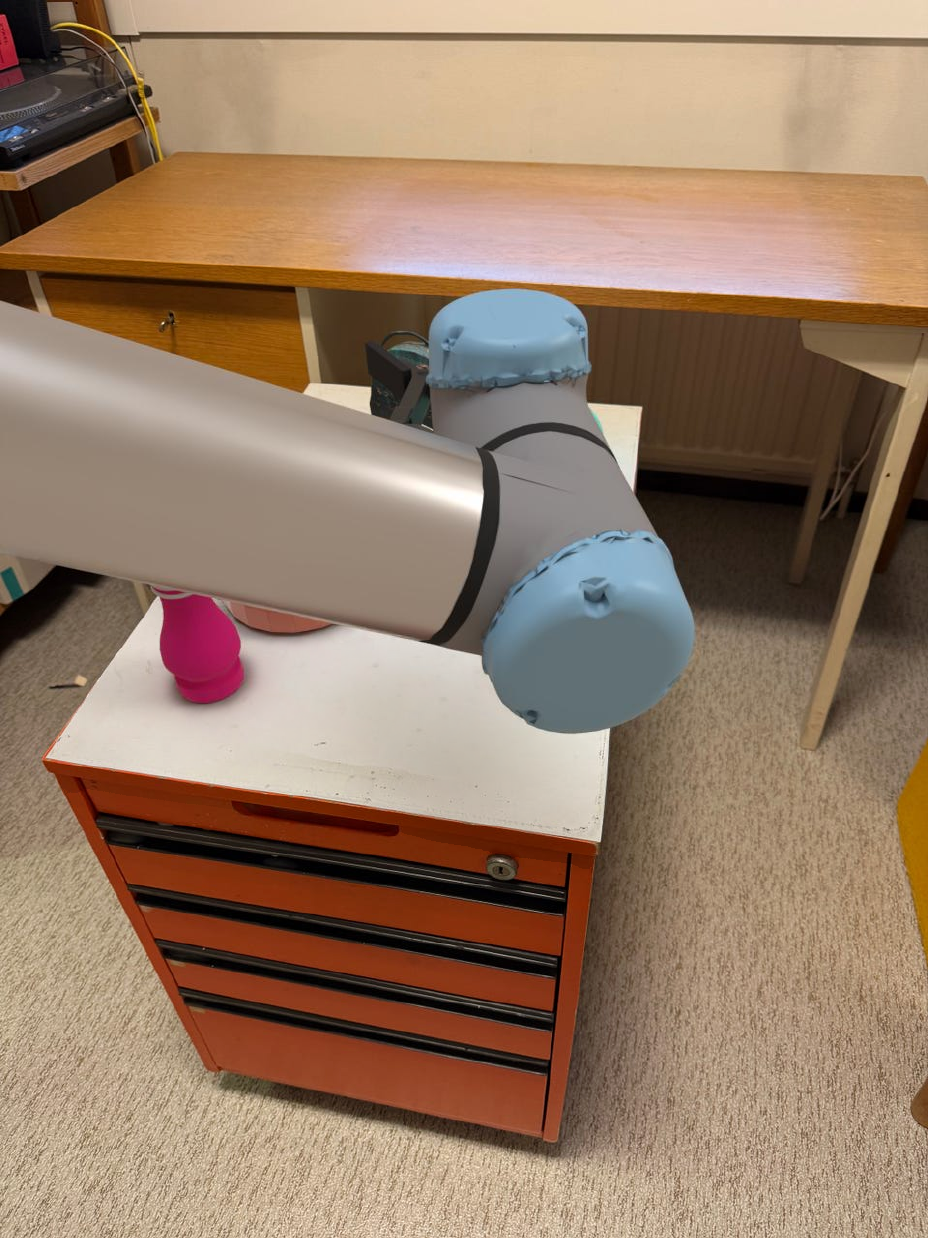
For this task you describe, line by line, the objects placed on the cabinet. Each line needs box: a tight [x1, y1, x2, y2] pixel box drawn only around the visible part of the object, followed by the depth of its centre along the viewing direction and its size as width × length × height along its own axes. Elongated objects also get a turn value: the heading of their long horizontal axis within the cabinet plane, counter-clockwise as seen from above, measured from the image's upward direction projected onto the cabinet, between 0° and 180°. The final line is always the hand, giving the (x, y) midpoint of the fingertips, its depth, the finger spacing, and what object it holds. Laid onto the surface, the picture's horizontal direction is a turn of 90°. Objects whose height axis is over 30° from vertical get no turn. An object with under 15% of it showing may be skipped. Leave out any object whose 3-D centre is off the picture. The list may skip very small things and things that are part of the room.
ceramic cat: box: [369, 330, 433, 430], centre depth 107 cm, size 20×6×20 cm, turn 54°
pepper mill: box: [149, 585, 245, 704], centre depth 78 cm, size 7×7×20 cm
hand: (294, 378), depth 71 cm, fingers open, 13 cm apart
